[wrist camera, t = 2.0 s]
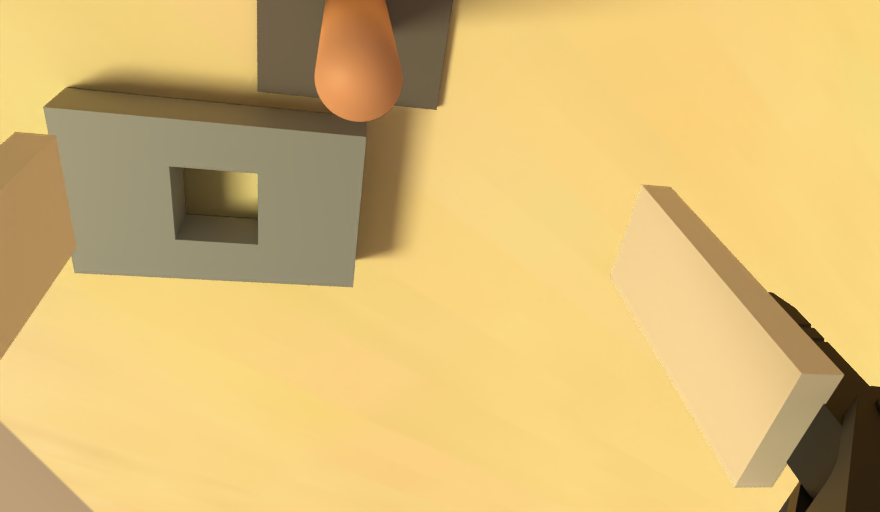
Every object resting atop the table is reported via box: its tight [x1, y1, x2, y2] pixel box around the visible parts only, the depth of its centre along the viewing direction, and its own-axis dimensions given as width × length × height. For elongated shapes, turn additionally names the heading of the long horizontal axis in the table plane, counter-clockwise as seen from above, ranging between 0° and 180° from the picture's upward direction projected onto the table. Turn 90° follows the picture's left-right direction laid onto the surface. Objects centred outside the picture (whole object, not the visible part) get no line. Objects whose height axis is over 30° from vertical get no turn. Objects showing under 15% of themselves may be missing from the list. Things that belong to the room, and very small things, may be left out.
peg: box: [315, 0, 403, 122], centre depth 28 cm, size 3×3×12 cm
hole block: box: [43, 88, 366, 287], centre depth 37 cm, size 16×10×3 cm, turn 82°
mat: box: [257, 0, 453, 110], centre depth 33 cm, size 10×10×1 cm
